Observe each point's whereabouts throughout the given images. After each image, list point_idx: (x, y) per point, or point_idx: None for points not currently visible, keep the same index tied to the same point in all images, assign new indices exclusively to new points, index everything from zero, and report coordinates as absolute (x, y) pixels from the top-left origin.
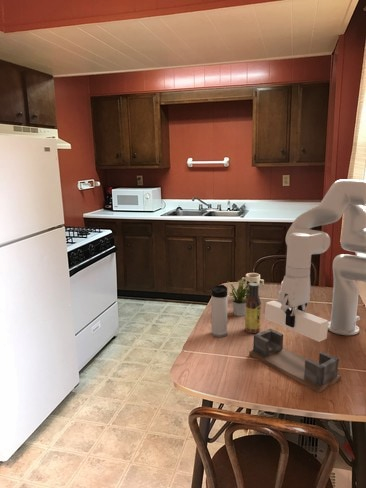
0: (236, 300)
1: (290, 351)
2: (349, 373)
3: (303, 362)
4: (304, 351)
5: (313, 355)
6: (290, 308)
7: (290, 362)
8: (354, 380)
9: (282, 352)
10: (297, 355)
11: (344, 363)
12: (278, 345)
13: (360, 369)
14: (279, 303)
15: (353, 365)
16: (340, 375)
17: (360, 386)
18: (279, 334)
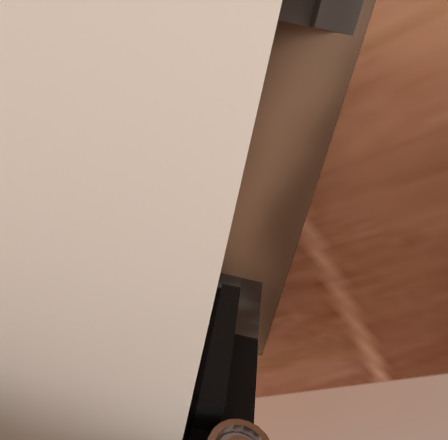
0: None
1: (340, 89)
2: (330, 354)
3: (259, 203)
4: (436, 133)
5: (412, 192)
6: (109, 376)
7: None
8: (288, 375)
9: (294, 53)
10: (314, 147)
11: (409, 324)
12: (305, 13)
13: (390, 378)
14: (205, 37)
15: (411, 354)
16: (257, 353)
17: (261, 394)
18: (330, 5)
